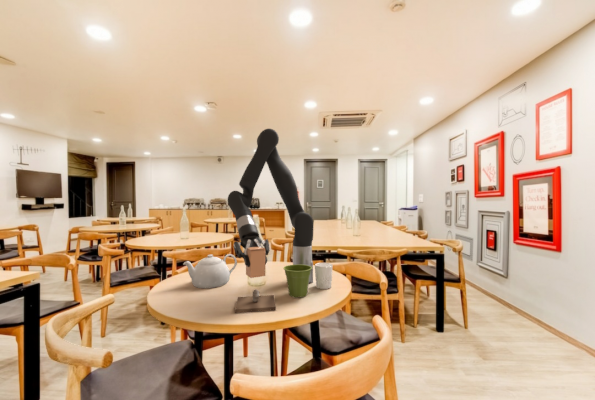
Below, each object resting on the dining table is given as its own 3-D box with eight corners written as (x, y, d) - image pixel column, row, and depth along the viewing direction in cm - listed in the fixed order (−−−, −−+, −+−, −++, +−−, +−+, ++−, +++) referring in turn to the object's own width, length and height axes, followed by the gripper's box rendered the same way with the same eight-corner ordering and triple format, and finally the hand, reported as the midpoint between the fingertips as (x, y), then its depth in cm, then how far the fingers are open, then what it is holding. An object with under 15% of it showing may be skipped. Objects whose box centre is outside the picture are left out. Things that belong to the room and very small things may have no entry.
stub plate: (273, 297, 103) (273, 283, 103) (275, 310, 91) (275, 294, 91) (237, 300, 101) (237, 285, 101) (235, 312, 89) (235, 296, 89)
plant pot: (314, 291, 111) (314, 264, 111) (309, 301, 99) (308, 272, 99) (288, 289, 114) (288, 263, 114) (279, 298, 102) (279, 270, 102)
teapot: (221, 290, 112) (221, 259, 112) (182, 288, 115) (182, 258, 115) (237, 278, 130) (237, 251, 130) (203, 276, 133) (203, 250, 133)
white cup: (321, 291, 111) (320, 267, 111) (311, 285, 118) (311, 263, 118) (336, 288, 115) (336, 265, 115) (326, 283, 122) (326, 262, 122)
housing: (260, 272, 100) (260, 246, 100) (265, 275, 95) (265, 248, 95) (245, 274, 97) (246, 247, 97) (250, 278, 92) (250, 249, 92)
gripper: (231, 223, 99) (240, 261, 89) (266, 222, 106) (278, 256, 96) (227, 236, 104) (235, 272, 93) (261, 234, 111) (272, 268, 100)
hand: (257, 264), depth 95 cm, fingers closed on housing, 5 cm apart
